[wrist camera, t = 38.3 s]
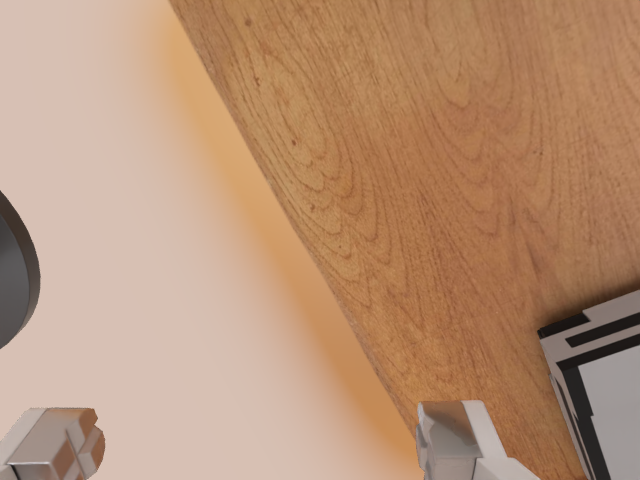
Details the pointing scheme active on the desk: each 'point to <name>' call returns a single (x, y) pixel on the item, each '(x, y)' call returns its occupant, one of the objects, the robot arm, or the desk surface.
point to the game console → (600, 384)
